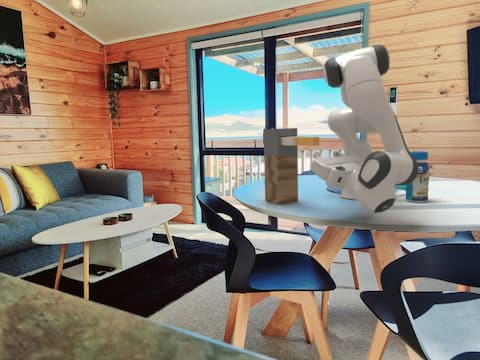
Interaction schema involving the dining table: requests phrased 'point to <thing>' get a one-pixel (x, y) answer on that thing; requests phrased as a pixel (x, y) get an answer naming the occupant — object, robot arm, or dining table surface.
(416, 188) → the beverage bottle
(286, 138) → the drawer
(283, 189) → the walnut stand
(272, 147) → the block
